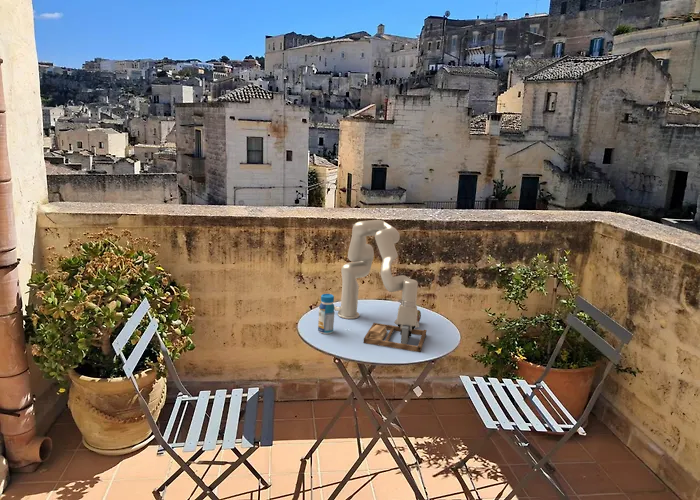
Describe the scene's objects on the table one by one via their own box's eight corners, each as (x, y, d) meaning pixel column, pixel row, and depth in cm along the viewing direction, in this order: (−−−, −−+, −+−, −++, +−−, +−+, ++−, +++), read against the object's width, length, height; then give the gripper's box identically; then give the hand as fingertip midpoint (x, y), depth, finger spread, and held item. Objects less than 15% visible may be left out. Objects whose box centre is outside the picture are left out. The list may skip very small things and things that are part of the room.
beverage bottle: (331, 335, 283) (333, 298, 278) (315, 333, 284) (317, 296, 280) (335, 329, 291) (337, 294, 286) (319, 327, 292) (321, 292, 288)
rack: (363, 342, 276) (363, 337, 275) (373, 326, 299) (373, 321, 298) (420, 352, 269) (420, 346, 268) (425, 335, 292) (426, 329, 291)
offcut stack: (368, 340, 281) (368, 331, 280) (374, 331, 293) (374, 323, 292) (381, 342, 279) (382, 333, 278) (387, 333, 291) (388, 325, 290)
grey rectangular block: (400, 344, 277) (402, 327, 275) (404, 336, 288) (405, 320, 286) (406, 345, 276) (407, 328, 274) (409, 336, 288) (411, 321, 286)
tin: (407, 329, 299) (408, 315, 297) (402, 327, 300) (403, 313, 298) (420, 322, 310) (422, 308, 308) (416, 321, 312) (417, 307, 310)
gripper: (391, 303, 276) (388, 336, 280) (423, 307, 273) (420, 341, 277) (394, 298, 283) (391, 331, 288) (425, 303, 280) (422, 336, 284)
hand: (405, 336), depth 282 cm, fingers closed on grey rectangular block, 2 cm apart
